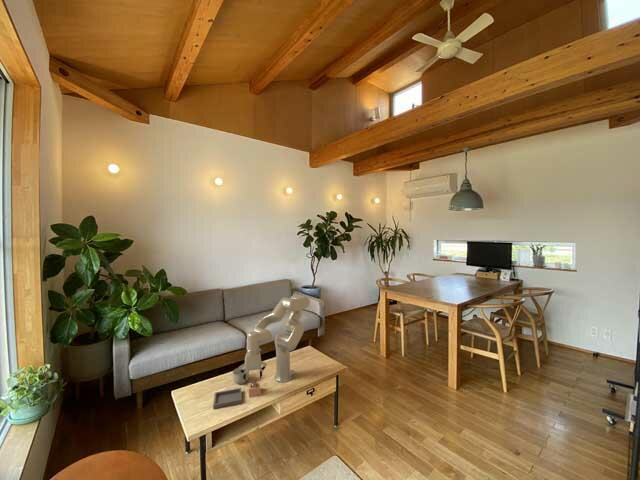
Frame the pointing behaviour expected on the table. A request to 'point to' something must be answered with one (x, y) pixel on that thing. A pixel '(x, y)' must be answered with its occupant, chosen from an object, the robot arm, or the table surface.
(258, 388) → the pink block with knob
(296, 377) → the table surface
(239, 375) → the teacup
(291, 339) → the robot arm
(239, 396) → the tray
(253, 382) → the post
